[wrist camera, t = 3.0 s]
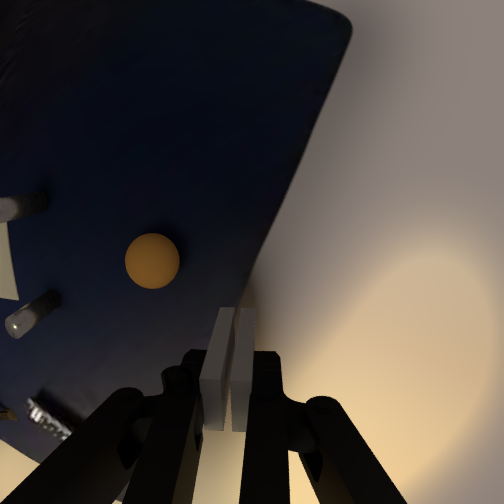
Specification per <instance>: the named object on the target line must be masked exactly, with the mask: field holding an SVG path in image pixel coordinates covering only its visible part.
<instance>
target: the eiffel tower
mask: <svg viewBox="0 0 504 504" xmlns="http://www.w3.org/2000/svg"><path fill="white" fill-rule="evenodd" d="M3 410H4V411H0V421H1V420H12V419H13V420H17V421H18V418H17V417H16V415H15V414H14V412H13V410H12V409H8V408H4V409H3Z"/></svg>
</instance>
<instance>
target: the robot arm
mask: <svg viewBox="0 0 504 504" xmlns="http://www.w3.org/2000/svg"><path fill="white" fill-rule="evenodd" d="M161 378H162V383H163V389H164V391H163V394H160V395H155V396H145V397H144V396H143V393H142V392H141V391H140V390H138V389H136V388H131V387H127V388H121V389H118V390H116V391H115V392H114V393H112V394H111V395H110V396H109V397H108V398H107V399H106V400H105V401H104V402H103V403H102V404H101V405H100V406H99V407H98V408H97V409H96V410H95V411H94V412H93V413H92V414H91V415H90V416H89V417H88V418H87V419H86V420H85V421H84V422H83V423H82V424H81V425H80V426H79V427H78V428H77V429H76V430H75V431H74V432H73V433H72V434H71V435H70V436H69V437H67V438H66V439H65V440H64V441H63V442H62V443H61V444H60V445H59V446H58V447H57V448H56V449H55V450H54V451H53V452H52V453H51V454H50V455H49V456H48V457H47V458H46V459H45V460H44V461H43V462H42V463H41V464H40V465H39V466H38V467H37V468H36V469H35V470H34V471H33V472H32V473H31V474H30V475H29V476H28V477H26V478H25V479H24V480H23V481H22V482H21V483H20V484H19V485H18V486H17V487H16V488H15V489H14V490H13V491H12V492H11V493H10V494H9V495H8V496H7V497H6V498H5V499H4V500H3V501H2V502H1V503H0V504H112V503H113V502H114V501H115V499H116V498H117V497H118V495H119V494H120V493H121V491H122V490H123V489H124V487H125V486H126V484H127V483H128V482H129V480H130V482H129V485H128V488H127V491H126V494H125V496H124V499H123V502H122V504H192V499H193V493H194V487H195V482H196V476H197V470H198V465H199V459H200V453H201V448H202V442H203V433H202V428H203V424H204V428H205V430H217V431H223V429H224V423H225V416H226V409H227V402H228V396H229V389H230V390H231V412H232V413H231V414H232V431H234V432H246V439H245V448H244V459H243V468H242V478H241V488H240V498H239V504H290V489H289V488H290V487H289V461H288V450H290V451H294V452H298V454H299V457H300V460H301V462H302V464H303V467H304V469H305V471H306V473H307V476H308V478H309V480H310V483H311V485H312V487H313V489H314V492H315V494H316V496H317V498H318V500H319V503H320V504H407V502H406V501H405V499H404V498H403V497H402V495H401V494H400V492H399V491H398V489H397V488H396V486H395V485H394V483H393V482H392V481H391V479H390V477H389V476H388V475H387V473H386V472H385V470H384V469H383V467H382V466H381V464H380V463H379V461H378V460H377V458H376V457H375V455H374V454H373V452H372V451H371V449H370V448H369V447H368V445H367V443H366V442H365V440H364V439H363V438H362V436H361V435H360V433H359V432H358V430H357V429H356V427H355V426H354V424H353V423H352V421H351V420H350V418H349V417H348V415H347V414H346V412H345V411H344V409H343V408H342V406H341V405H340V403H339V402H338V401H337V400H336V399H333V398H331V397H327V396H316V397H313V398H310V399H309V400H308V401H307V402H306V403H301V402H297V401H294V400H291V399H290V398H288V397H287V396H286V395H285V394H284V391H283V383H282V372H281V362H280V356H279V355H278V354H277V353H276V352H275V351H255V308H241V312H240V319H239V325H238V332H237V338H236V345H235V316H234V308H231V307H220V310H219V313H218V317H217V320H216V323H215V327H214V330H213V333H212V337H211V340H210V343H209V347H208V350H196V349H191V350H190V351H188V352H187V353H186V354H185V355H184V357H183V360H182V362H181V365H179V366H172V367H168V368H166V369H165V370H163V372H162V373H161Z"/></svg>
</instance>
